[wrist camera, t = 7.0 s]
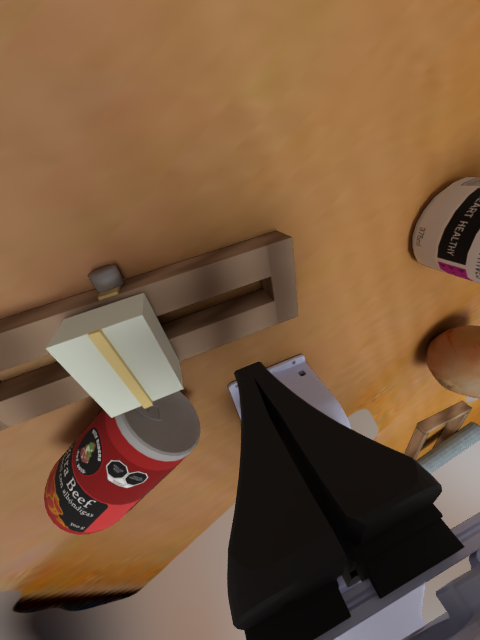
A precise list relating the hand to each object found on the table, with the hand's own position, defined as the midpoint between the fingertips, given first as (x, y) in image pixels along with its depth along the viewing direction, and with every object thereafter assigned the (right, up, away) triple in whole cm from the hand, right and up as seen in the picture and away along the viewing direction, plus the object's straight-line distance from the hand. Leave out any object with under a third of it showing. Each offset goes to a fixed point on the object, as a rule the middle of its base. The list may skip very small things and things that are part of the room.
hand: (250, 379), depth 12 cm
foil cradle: (+47, -28, +48) cm, 73 cm away
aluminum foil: (+48, -30, +47) cm, 74 cm away
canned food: (-15, -13, +10) cm, 22 cm away
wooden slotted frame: (-9, +3, +7) cm, 12 cm away
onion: (+29, 0, +24) cm, 38 cm away
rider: (-9, +3, +7) cm, 12 cm away
